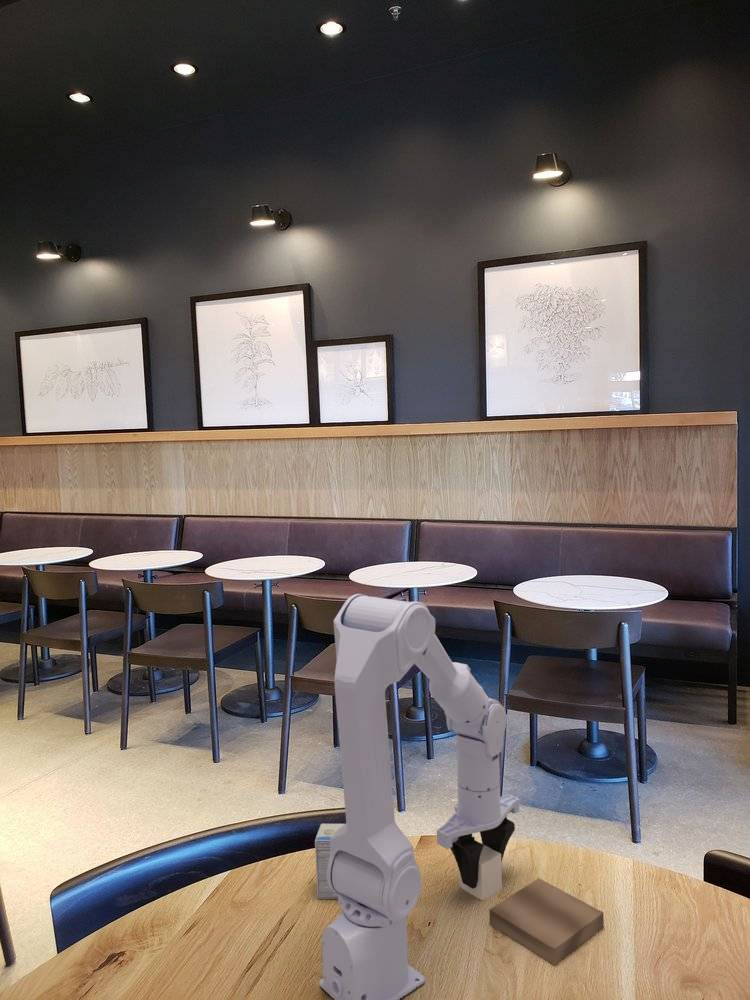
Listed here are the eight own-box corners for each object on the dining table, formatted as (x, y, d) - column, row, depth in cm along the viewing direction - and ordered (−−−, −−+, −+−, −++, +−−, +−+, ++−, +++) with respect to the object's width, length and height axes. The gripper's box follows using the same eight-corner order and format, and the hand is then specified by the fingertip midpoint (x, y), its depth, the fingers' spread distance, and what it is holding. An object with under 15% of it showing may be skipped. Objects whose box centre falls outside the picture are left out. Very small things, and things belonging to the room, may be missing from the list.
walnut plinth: (554, 965, 86) (554, 949, 86) (489, 924, 94) (489, 909, 93) (603, 927, 92) (603, 912, 92) (539, 892, 100) (538, 878, 100)
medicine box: (377, 882, 104) (375, 823, 103) (374, 902, 99) (372, 840, 98) (322, 880, 104) (319, 822, 104) (316, 900, 100) (314, 838, 99)
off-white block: (482, 900, 99) (481, 865, 98) (460, 887, 102) (459, 853, 101) (501, 888, 101) (501, 853, 101) (480, 876, 104) (479, 842, 104)
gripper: (491, 757, 108) (493, 846, 109) (419, 789, 99) (422, 886, 100) (530, 773, 102) (532, 866, 103) (457, 808, 93) (460, 910, 94)
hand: (480, 877), depth 101 cm, fingers closed on off-white block, 4 cm apart
